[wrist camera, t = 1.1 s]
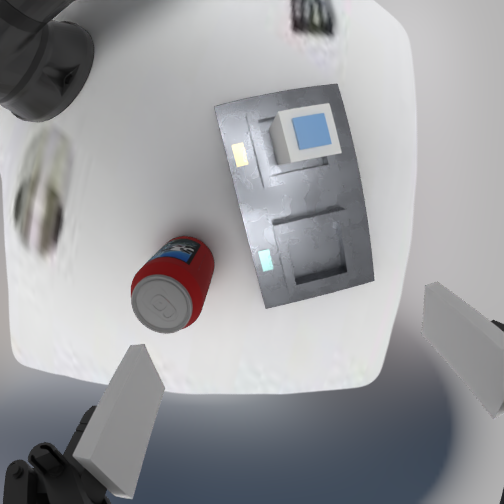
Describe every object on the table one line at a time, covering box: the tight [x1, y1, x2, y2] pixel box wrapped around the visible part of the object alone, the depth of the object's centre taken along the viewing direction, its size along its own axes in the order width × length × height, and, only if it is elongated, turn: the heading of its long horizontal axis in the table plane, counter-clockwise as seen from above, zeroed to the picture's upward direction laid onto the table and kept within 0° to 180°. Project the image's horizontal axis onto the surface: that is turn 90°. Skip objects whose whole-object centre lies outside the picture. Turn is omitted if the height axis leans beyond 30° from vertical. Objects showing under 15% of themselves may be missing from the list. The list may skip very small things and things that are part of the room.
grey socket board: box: [214, 84, 374, 309], centre depth 31 cm, size 24×14×4 cm, turn 14°
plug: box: [269, 103, 342, 165], centre depth 24 cm, size 4×4×11 cm
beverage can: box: [131, 236, 214, 333], centre depth 29 cm, size 7×7×12 cm
